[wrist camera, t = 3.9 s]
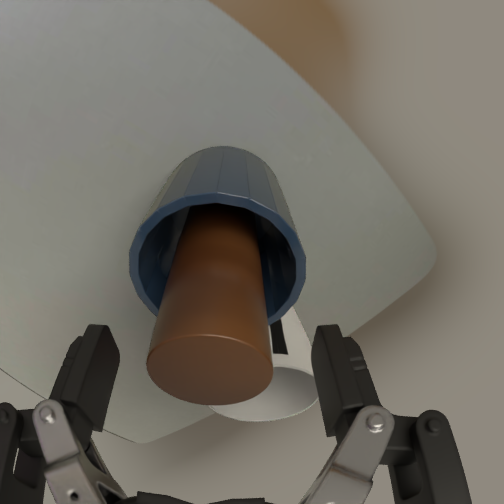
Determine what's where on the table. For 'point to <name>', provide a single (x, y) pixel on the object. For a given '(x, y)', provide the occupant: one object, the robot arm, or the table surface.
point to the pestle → (213, 312)
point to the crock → (230, 193)
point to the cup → (281, 377)
